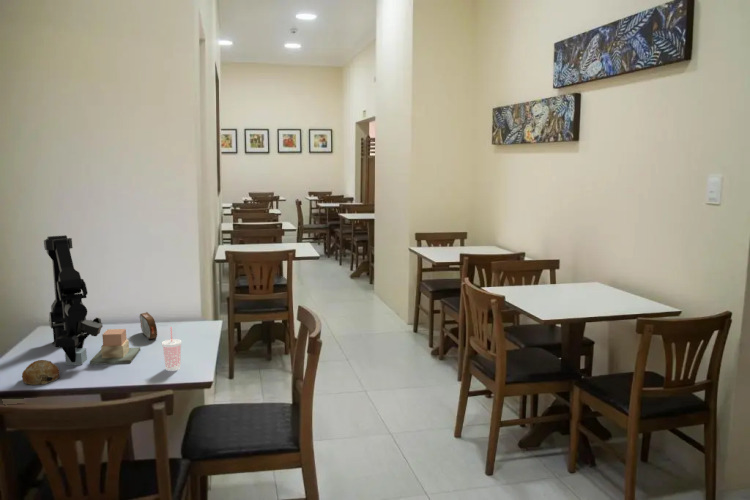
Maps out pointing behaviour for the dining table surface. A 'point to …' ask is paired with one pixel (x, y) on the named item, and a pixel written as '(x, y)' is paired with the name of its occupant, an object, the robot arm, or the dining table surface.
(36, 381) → the bread roll
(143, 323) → the tin
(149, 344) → the dining table surface
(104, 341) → the terracotta brick
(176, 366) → the beverage cup
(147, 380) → the dining table surface
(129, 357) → the build board
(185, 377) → the dining table surface
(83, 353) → the gray brick
